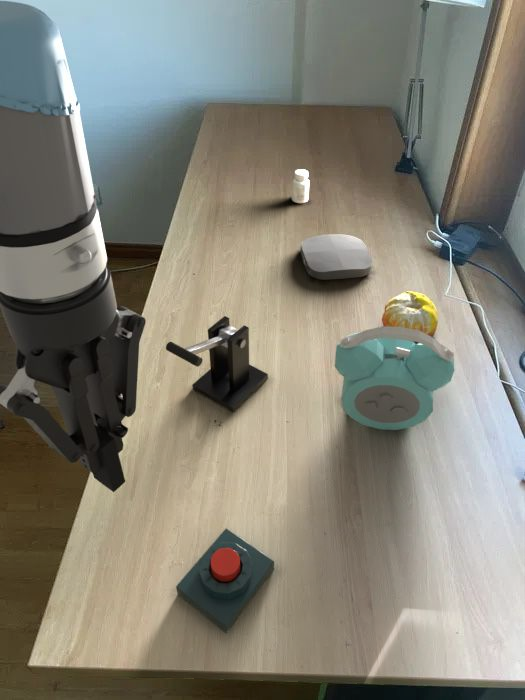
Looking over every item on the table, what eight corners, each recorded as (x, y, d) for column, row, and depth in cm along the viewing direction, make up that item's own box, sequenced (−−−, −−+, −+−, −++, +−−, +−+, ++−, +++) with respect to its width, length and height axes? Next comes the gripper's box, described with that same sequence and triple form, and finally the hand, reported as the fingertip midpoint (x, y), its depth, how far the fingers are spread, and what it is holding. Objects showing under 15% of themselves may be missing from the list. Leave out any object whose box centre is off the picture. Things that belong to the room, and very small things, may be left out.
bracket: (233, 412, 94) (230, 356, 85) (192, 389, 98) (186, 333, 89) (268, 378, 100) (269, 323, 91) (228, 358, 104) (225, 302, 95)
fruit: (375, 307, 115) (393, 276, 109) (422, 321, 116) (441, 291, 111) (379, 342, 106) (399, 310, 101) (429, 357, 108) (451, 326, 103)
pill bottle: (311, 200, 149) (313, 172, 144) (300, 205, 147) (301, 177, 142) (299, 194, 152) (301, 166, 146) (288, 199, 149) (289, 171, 144)
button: (227, 588, 68) (227, 581, 67) (205, 571, 70) (204, 564, 69) (245, 565, 70) (245, 558, 69) (223, 549, 72) (223, 542, 71)
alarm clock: (432, 401, 96) (461, 309, 83) (435, 445, 89) (467, 352, 76) (331, 388, 98) (342, 296, 85) (325, 430, 91) (337, 337, 78)
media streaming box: (375, 277, 123) (377, 266, 121) (309, 282, 122) (310, 271, 120) (357, 242, 134) (359, 231, 132) (297, 246, 132) (297, 235, 130)
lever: (194, 370, 81) (197, 356, 80) (164, 354, 84) (166, 339, 83) (246, 348, 92) (249, 335, 91) (218, 334, 94) (220, 321, 93)
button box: (226, 633, 68) (225, 619, 65) (177, 594, 71) (174, 579, 69) (274, 569, 74) (275, 554, 71) (226, 536, 77) (225, 520, 75)
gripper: (1, 347, 32) (82, 553, 48) (160, 250, 40) (185, 454, 56) (-72, 299, 35) (27, 507, 51) (89, 218, 43) (132, 420, 59)
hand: (109, 479), depth 54 cm, fingers closed
